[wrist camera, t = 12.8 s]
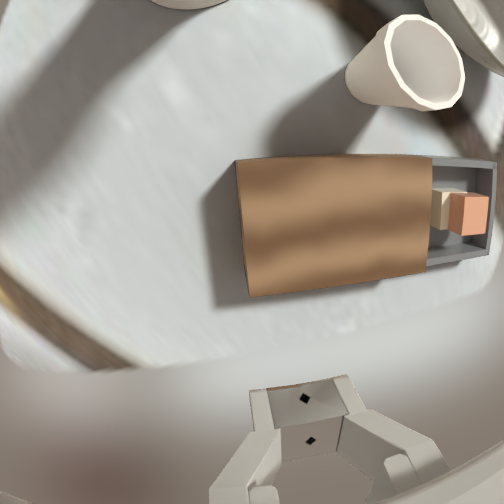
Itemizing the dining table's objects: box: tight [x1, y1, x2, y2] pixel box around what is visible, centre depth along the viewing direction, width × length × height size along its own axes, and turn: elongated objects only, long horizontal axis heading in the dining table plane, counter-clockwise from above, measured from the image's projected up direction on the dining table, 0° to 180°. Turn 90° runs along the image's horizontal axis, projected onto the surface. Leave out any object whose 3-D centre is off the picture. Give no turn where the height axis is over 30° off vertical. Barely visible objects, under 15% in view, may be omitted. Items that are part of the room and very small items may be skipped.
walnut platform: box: [235, 154, 432, 297], centre depth 34 cm, size 14×22×6 cm, turn 94°
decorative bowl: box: [423, 0, 504, 77], centre depth 23 cm, size 27×27×12 cm
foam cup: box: [345, 15, 465, 111], centre depth 26 cm, size 10×9×13 cm
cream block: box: [430, 188, 468, 230], centre depth 36 cm, size 5×5×3 cm
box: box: [413, 155, 497, 266], centre depth 36 cm, size 14×14×4 cm
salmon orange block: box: [448, 192, 489, 236], centre depth 34 cm, size 5×5×3 cm
